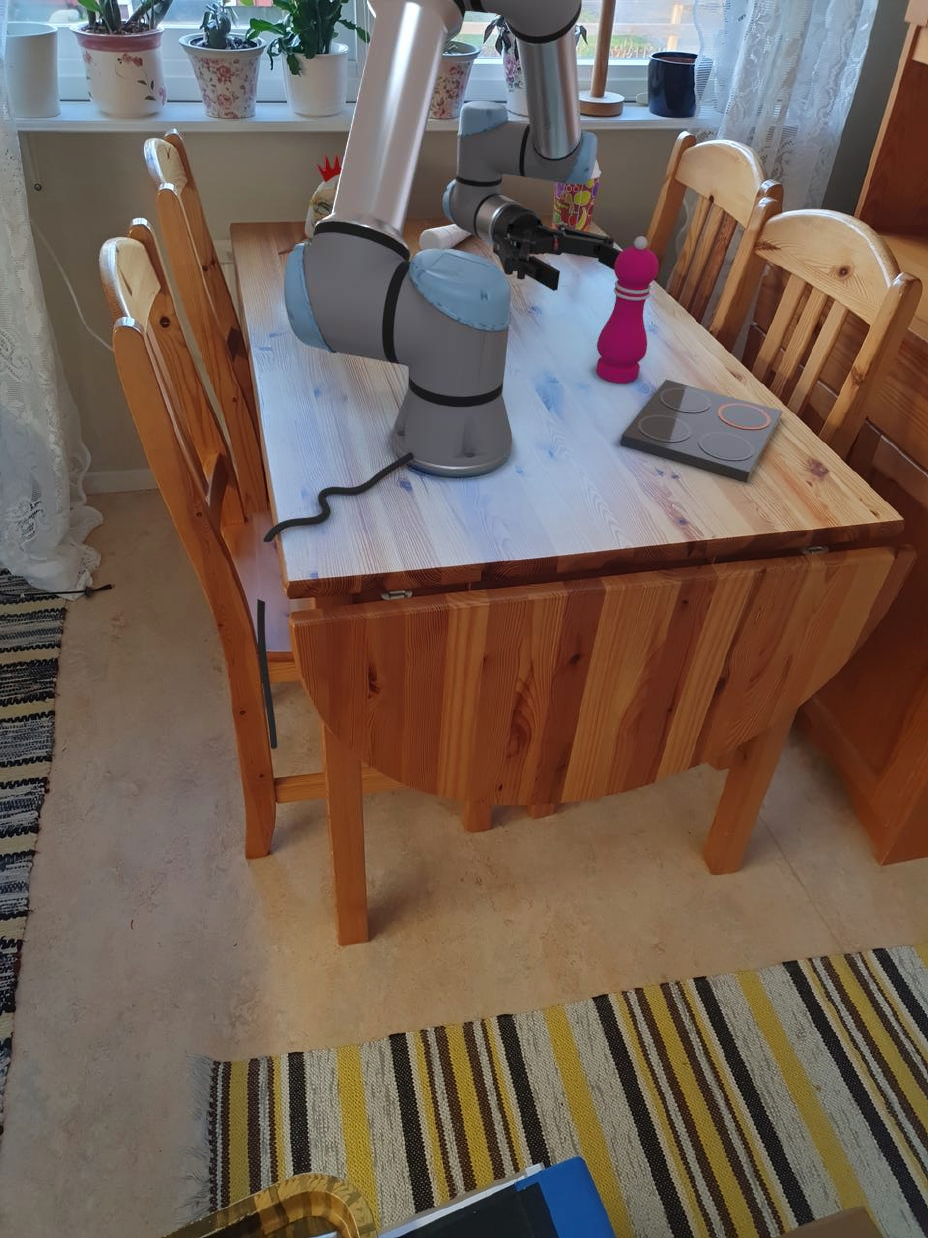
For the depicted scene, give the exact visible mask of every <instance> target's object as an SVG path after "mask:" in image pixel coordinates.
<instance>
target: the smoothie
mask: <svg viewBox="0 0 928 1238" xmlns="http://www.w3.org/2000/svg"><path fill="white" fill-rule="evenodd" d="M601 175H602V171H601V170H600V166H599V162H598V160H597V159H596V161H595V166H594V170H593V173H592V176H591V179H590V180H589V182H588V183H586V184H584V185H580V184H568V183H567V184H563V183H560V182H554V194H553V209H552V227H551V229H556V230H558V225H560V224H564V225H566V226H568V227H571V228H574V229H578V230H582V231H586V232H590V227H591V223H592V218H593V213H594V209H595V204H596V199H597V194H598V189H599V184H600V179H601ZM554 248H556V249H558V242H557V239H555V247H554Z"/></svg>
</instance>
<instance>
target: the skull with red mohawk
mask: <svg viewBox="0 0 928 1238" xmlns="http://www.w3.org/2000/svg"><path fill="white" fill-rule="evenodd" d="M344 156H345V153H343V155H342V160H341V164H340V161H339V156H338V154H334V160H333V166H331V164H330V161H329V158H328V157H327V155H324V168H322V167H321V165H320V164H319V163H316V164H317V165H316V166H317V168H318V171H319V173H320V175H321V176H322V178H323V181H322V182H321V183H320V184H319V185H318V187H317V188H316V189H315V191H314V193H313V195H312V197H311V200H310V201H309V206H308V210H307V214H306V220H305V223H304V224H305V226H304V239H307V237H310V238H313V227H312V223H311V219H312V218H313V216H314V210H313V200H314V198H315V194H316V193H317V192H318V191H320V190H322V189H325V188H331V189H333V190H334V186H335V181H336V179H337V178H339V177H340V174H341V170H342V165H343V161H344Z"/></svg>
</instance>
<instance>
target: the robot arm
mask: <svg viewBox="0 0 928 1238" xmlns="http://www.w3.org/2000/svg"><path fill="white" fill-rule="evenodd" d="M366 3H367V6H368V8H369V10H370V12H371V14H372V15H373V17H374V21H373V26H372V31H371V35H370V38H369V39H370V40H369V44H368V47H367V53H366V58H365V61H364V67H363V71H362V75H361V79H360V85H359V89H358V93H357V99H356V102H355V107H354V112H353V116H352V121H351V125H350V130H349V134H348V137H347V138H348V139H347V143H346V148H345V151H344V152H345V153H344V154H345V156H344V161H343V165H342V164H341V165H342V170H341V174H340V179H339V183H338V188H337V192H336V197H335V201H334V206H333V210H332V214H331V215H329V216H328V217H326V218H324V219H322V220H320V221H319V222H317V224H316V227H315V231H314V235H313V239H312V243H311V244H310V243H307V242H304V243H297V244H295V245H294V247H293V248H292V251H290V252H289V255H288V257H287V261H286V265H285V270H284V280H283V281H284V283H283V295H284V297H283V298H284V306H285V311H286V316H287V319H288V322H289V325H290V327H291V330H292V332H293V333H294V335H295V336H296V338H297V339H298V340H299V341H300V342H301V343H303V345H304V344H305V345H306V346H309V347H312V348H316V349H320V350H324V351H327V352H328V353H330V354H337V353H338V354H343V355H350V356H354V357H360V358H366V359H370V360H371V359H372V360H375V361H381V362H386V363H391V364H396V365H401V366H405V367H407V369H408V372H407V373H408V380H407V381H408V382H407V383H408V384H407V390H406V393H405V395H404V398H403V401H402V403H401V406H400V408H399V411H398V414H397V417H396V419H395V422H394V424H393V430H392V448H393V451H394V453H395V454H396V456H397V457H398V459H396V460H394V461H393V462H391V463H390V464H389V465H387V466H385V467H384V468H382V469H381V470H380V471H379V472H377V473H376V474H374V475H373V476H372V477H371V478H369V479H368V480H367V481H365V482H363V483H362V484H359V485H356V486H351V487H346V486H345V487H343V486H329V487H325V488H323V489H322V490H321V491H319V493H318V495H317V500H318V503H319V505H320V507H321V510H322V512H320V513H319V514H318V515H315V516H309V517H296V518H290V519H285V520H283V521H281V522H279V523H277V524H275V525H274V526H273V527H272V528H270V529H269V531H268V532H267V533H266V534H265V536H264V537H263V539H262V541H263V543H270V542H272V541H273V540H274V538H275V537H276V536H277V535H278V534H279V533H281V532H282V531H283V530H286V529H290V528H295V527H303V526H313V525H317V524H320V523H323V522H324V521H326V520H327V519H328V518H329V517H330V515H331V507H330V504H329V503H328V501H327V499H326V498H327V497H328V496H329V495H343V496H344V495H346V496H347V495H348V496H351V495H358V494H361V493H364V492H366V491H367V490H369V489H371V488H373V487H374V486H375V485H377V484H378V483H379V482H380V481H381V480H382V479H384V478H385V477H387V476H388V475H390V474H391V473H392V472H395V471H396V470H397V469H399V468H400V467H402V466H404V465H405V464H406V465H408V466H409V467H412V468H414V469H415V470H417V471H420V472H423V473H426V474H430V475H434V476H440V477H448V478H449V477H450V478H465V477H473V476H475V477H476V476H478V475H479V476H480V475H483V474H487V473H490V472H492V471H494V470H496V469H498V468H500V467H501V466H503V465H504V464H505V463H506V462H508V460H509V458H510V456H511V454H512V448H513V447H512V446H513V434H512V432H513V431H512V428H511V424H510V420H509V415H508V411H507V408H506V403H505V399H504V395H503V391H504V379H505V370H506V359H507V352H508V351H507V349H508V341H509V340H508V339H509V332H510V325H511V322H512V312H511V298H512V287H511V283H510V280H509V278H508V277H507V276H510V275H513V274H514V272H516V279H518V280H525V279H526V276H528V277H529V278H531V279H533V280H534V281H536V282H537V283H539V284H541V285H542V286H545V287H546V288H548V289H550V290H551V291H552V292H554V291H558V290H559V283H560V282H559V281H560V274H561V271H560V270H559V269H557V268H555V267H553V266H552V265H550V264H548V263H546V262H545V261H544V260H541V259H539V258H537V255H545V254H548V255H554V256H561V255H562V254H568V255H575V256H579V257H580V256H581V257H587V258H593V259H597V262H598V263H600V264H602V265H603V266H606V267H608V268H609V269H611V270H613V271H614V265H615V262H616V259H617V257H618V255H619V254H620V253H621V252H622V251H621V250H619V249H617V248H616V247H614V246H615V245H614V243H615V238H613V237H610V236H608V235H601V234H598V233H593V232H590V231H589V232H586V231H582V230H578V229H574V228H571V227H568V226H566V225H564V224H560V225H558V230H556V229H552V228H550V227H549V226H547V225H544V224H543V223H542V220H541V218H540V216H539V214H538V213H536V212H535V211H534V210H533V209H530V208H528V207H526V206H525V205H522V204H521V203H519V202H518V201H515V200H513V199H511V198H509V197H507V196H505V195H503V194H502V193H501V189H502V183H503V175H510V176H516V177H517V176H518V177H522V178H530V179H536V180H543V181H548V182H554V183H555V182H560V183H563V184H567V183H568V184H580V185H584V184H586V183H588V182H589V180H590V179H591V176H592V173H593V170H594V166H595V161H596V160H597V155H598V145H599V144H598V138H597V135H596V134H595V133H594V132H589V131H586V130H585V129H582V123H581V121H582V120H581V108H580V106H581V103H580V88H579V72H578V57H577V55H578V54H577V39H576V25H577V23H578V22H579V19H580V17H581V14H582V8H583V6H582V5H583V1H582V0H366ZM466 12H472V13H483V14H494V15H498V16H501V17H503V18H504V22H505V24H506V26H507V29H508V31H509V32H510V33H511V35H512V36H513V37H514V38H515V39H516V46H517V52H518V59H519V64H520V71H521V79H522V84H523V85H522V86H523V90H524V96H525V97H524V98H525V104H526V108H527V109H526V110H527V115H528V122H529V123H526V122H520V121H513V120H509V115H508V108H507V107H506V106H505V105H504V104H502V103H499V102H495V101H491V100H490V101H489V100H472V101H468V102H466V103H465V104H464V105H463V106H462V107H461V109H460V112H459V113H460V114H459V123H458V133H457V134H456V137H457V145H456V146H457V147H456V148H457V149H456V150H457V151H456V175H455V179H453V180H451V181H450V183H449V184H448V185H447V186H446V190H445V192H444V194H443V195H442V196H443V197H442V210H443V212H444V214H445V217H447V219H448V220H449V221H451V222H452V223H453V224H456V225H457V226H458V227H459V228H461V229H462V230H465V231H467V232H469V233H471V235H473V236H475V237H477V238H478V239H480V240H481V241H483V242H485V243H487V244H489V245H490V246H492V253H493V254H495V255H496V256H497V257H498V259H499V261H500V264H501V267H502V269H503V271H502V269H500V267H499V266H498V265H496V264H494V263H493V262H492V261H490V260H488V259H486V258H485V257H482V256H479V255H477V254H474V253H471V252H467V251H464V250H460V249H453V248H450V249H444V250H440V249H437V248H436V249H427V250H424V251H421V250H420V251H418V252H417V253H415V255H414V256H413V258H412V259H411V261H410V258H411V249H410V247H409V245H408V244H407V242H406V241H405V239H404V237H403V233H404V232H403V231H404V226H405V222H406V220H407V219H406V218H407V212H408V209H409V206H410V200H411V196H412V191H413V187H414V184H415V183H414V182H415V179H416V174H417V170H418V165H419V160H420V157H421V152H422V148H423V143H424V138H425V134H426V131H427V125H428V121H429V117H430V112H431V108H432V103H433V98H434V94H435V89H436V86H437V82H438V81H437V80H438V76H439V72H440V68H441V64H442V59H443V54H444V49H445V45H446V43H447V42H449V41H452V40H453V39H455V38H457V36H458V35H459V34H460V32H461V31H462V28H463V24H464V19H465V16H466ZM555 239H557V242H558V248H556V247H555ZM534 255H535V256H534ZM256 604H257V605H256V632H257V634H256V635H257V649H258V660H259V666H260V676H261V680H262V690H263V695H264V696H263V697H264V701H265V709H266V716H267V724H268V733H269V747H270V749H271V750H276V749H277V748H278V738H277V737H278V736H277V726H276V720H275V710H274V702H273V695H272V691H271V690H272V687H271V680H270V674H269V673H270V672H269V665H268V658H267V646H266V645H267V644H266V601H264V600H261V599H259V598H257V602H256Z"/></svg>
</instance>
